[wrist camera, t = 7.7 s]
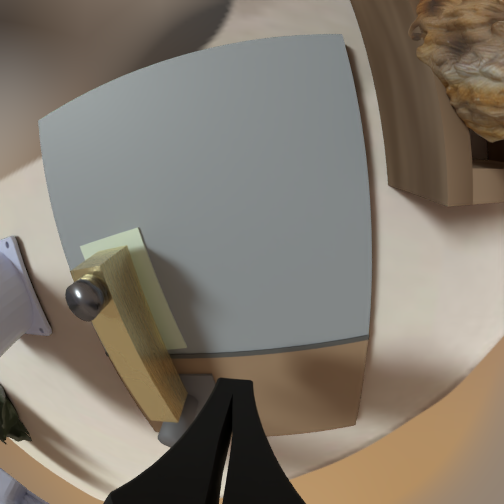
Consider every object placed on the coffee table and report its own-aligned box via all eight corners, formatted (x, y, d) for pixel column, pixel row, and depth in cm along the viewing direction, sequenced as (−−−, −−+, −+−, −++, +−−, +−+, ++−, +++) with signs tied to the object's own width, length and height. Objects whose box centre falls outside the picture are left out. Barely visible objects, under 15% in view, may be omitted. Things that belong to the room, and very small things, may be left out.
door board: (158, 424, 19) (143, 465, 15) (47, 121, 11) (-10, 122, 7) (353, 417, 17) (363, 464, 13) (338, 40, 9) (367, -4, 5)
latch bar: (187, 392, 15) (174, 436, 12) (161, 392, 15) (145, 433, 12) (127, 244, 12) (86, 276, 8) (98, 251, 12) (56, 281, 9)
